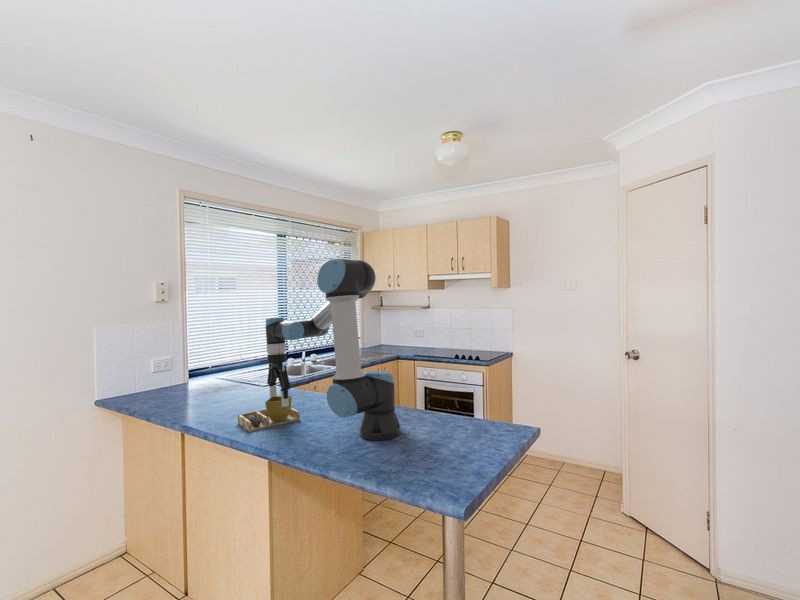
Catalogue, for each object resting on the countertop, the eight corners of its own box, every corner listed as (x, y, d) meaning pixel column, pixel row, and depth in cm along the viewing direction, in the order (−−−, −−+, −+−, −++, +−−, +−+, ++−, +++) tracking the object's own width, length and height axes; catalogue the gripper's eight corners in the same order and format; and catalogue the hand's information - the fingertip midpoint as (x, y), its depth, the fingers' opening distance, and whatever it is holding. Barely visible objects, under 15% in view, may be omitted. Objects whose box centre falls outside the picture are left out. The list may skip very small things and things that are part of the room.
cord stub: (261, 426, 160) (261, 419, 160) (254, 427, 158) (254, 420, 158) (253, 420, 168) (252, 413, 168) (246, 421, 167) (246, 415, 167)
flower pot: (265, 423, 163) (264, 401, 163) (272, 416, 172) (271, 396, 172) (286, 422, 163) (285, 400, 163) (292, 416, 172) (291, 395, 172)
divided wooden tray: (299, 420, 168) (299, 411, 168) (249, 432, 155) (248, 422, 155) (286, 413, 180) (285, 404, 180) (238, 423, 167) (237, 414, 167)
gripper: (296, 354, 160) (299, 406, 160) (274, 350, 180) (277, 397, 180) (278, 356, 156) (281, 410, 155) (258, 352, 175) (260, 400, 175)
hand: (279, 403), depth 168 cm, fingers open, 13 cm apart
